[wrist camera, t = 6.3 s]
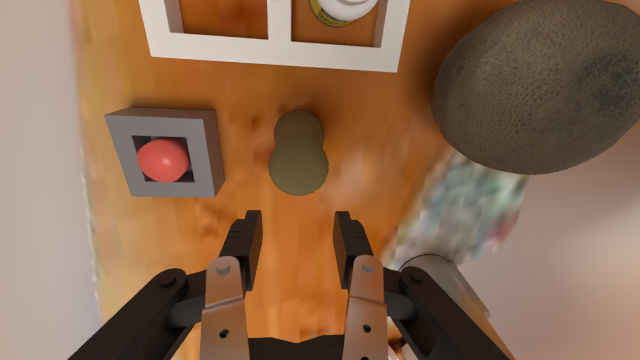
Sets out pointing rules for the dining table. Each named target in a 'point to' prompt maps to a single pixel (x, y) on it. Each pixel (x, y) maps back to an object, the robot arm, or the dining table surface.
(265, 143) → the dining table surface
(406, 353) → the spread jar
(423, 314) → the robot arm
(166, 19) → the window frame
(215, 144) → the button housing
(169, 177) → the button
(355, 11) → the supplement bottle
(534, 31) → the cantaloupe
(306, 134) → the olive gourd
